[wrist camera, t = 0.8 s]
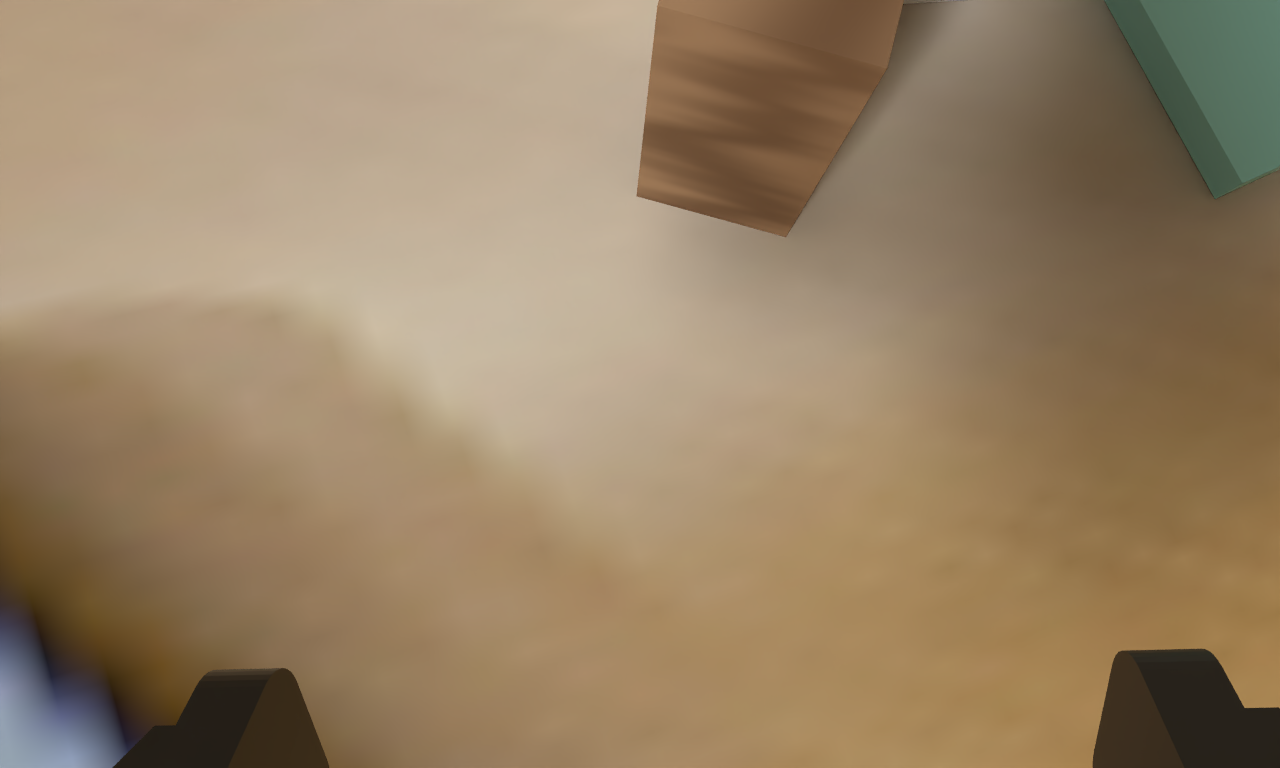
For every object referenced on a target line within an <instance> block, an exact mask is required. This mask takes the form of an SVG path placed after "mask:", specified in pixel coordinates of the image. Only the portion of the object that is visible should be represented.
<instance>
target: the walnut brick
mask: <svg viewBox="0 0 1280 768" xmlns="http://www.w3.org/2000/svg"><path fill="white" fill-rule="evenodd" d="M903 2H904V0H659V2H658V6H657V15H656V24H655V33H654V42H653V51H652V60H651V70H650V79H649V88H648V97H647V106H646V115H645V124H644V133H643V143H642V152H641V161H640V170H639V179H638V188H637V196H638V197H642V198H645V199H649V200H653V201H656V202H660V203H664V204H667V205H671V206H675V207H678V208H682V209H686V210H689V211H693V212H697V213H700V214H704V215H707V216H711V217H715V218H718V219H722V220H726V221H729V222H733V223H737V224H740V225H744V226H748V227H751V228H755V229H759V230H762V231H766V232H770V233H773V234H777V235H780V236H784V237H786V236H787V234H788V232H789V231H790V229H791V227H792V226H793V224H794V222H795V221H796V219H797V217H798V216H799V214H800V212H801V211H802V209H803V207H804V206H805V204H806V203H807V201H808V199H809V198H810V196H811V194H812V193H813V191H814V189H815V188H816V186H817V184H818V183H819V181H820V179H821V178H822V176H823V174H824V173H825V171H826V169H827V168H828V166H829V164H830V163H831V161H832V159H833V158H834V156H835V154H836V153H837V151H838V149H839V148H840V146H841V144H842V143H843V141H844V139H845V138H846V136H847V134H848V133H849V131H850V129H851V128H852V126H853V124H854V123H855V121H856V119H857V118H858V116H859V114H860V113H861V111H862V109H863V108H864V106H865V104H866V103H867V101H868V99H869V98H870V96H871V94H872V93H873V91H874V89H875V88H876V86H877V84H878V83H879V81H880V80H881V78H882V76H883V75H884V73H885V71H886V70H887V67H888V63H889V59H890V55H891V51H892V47H893V43H894V39H895V35H896V31H897V27H898V23H899V19H900V15H901V11H902V6H903Z"/></svg>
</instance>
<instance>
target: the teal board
mask: <svg viewBox="0 0 1280 768" xmlns="http://www.w3.org/2000/svg"><path fill="white" fill-rule="evenodd" d="M1104 1H1105V2H1106V4H1107V6H1108V8H1109V10H1110V11H1111V13H1112V15H1113V17H1114V19H1115V20H1116V22H1117V24H1118V26H1119V28H1120V29H1121V31H1122V33H1123V35H1124V37H1125V38H1126V40H1127V42H1128V44H1129V46H1130V47H1131V49H1132V51H1133V53H1134V55H1135V56H1136V58H1137V60H1138V62H1139V64H1140V65H1141V67H1142V69H1143V71H1144V73H1145V74H1146V76H1147V78H1148V80H1149V82H1150V83H1151V85H1152V87H1153V89H1154V91H1155V92H1156V94H1157V96H1158V98H1159V100H1160V101H1161V103H1162V105H1163V107H1164V109H1165V110H1166V112H1167V114H1168V116H1169V117H1170V119H1171V121H1172V123H1173V125H1174V126H1175V128H1176V130H1177V132H1178V134H1179V135H1180V137H1181V139H1182V141H1183V143H1184V144H1185V146H1186V148H1187V150H1188V152H1189V153H1190V155H1191V157H1192V159H1193V161H1194V162H1195V164H1196V166H1197V168H1198V170H1199V171H1200V173H1201V175H1202V177H1203V179H1204V180H1205V182H1206V184H1207V186H1208V188H1209V189H1210V191H1211V193H1212V195H1213V197H1214V198H1215V199H1216V198H1218V197H1221V196H1223V195H1225V194H1227V193H1229V192H1231V191H1234V190H1236V189H1238V188H1240V187H1242V186H1245V185H1247V184H1249V183H1251V182H1253V181H1255V180H1258V179H1260V178H1262V177H1264V176H1266V175H1268V174H1271V173H1273V172H1275V171H1277V170H1279V169H1280V0H1104Z"/></svg>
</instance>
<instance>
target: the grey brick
mask: <svg viewBox="0 0 1280 768" xmlns="http://www.w3.org/2000/svg"><path fill="white" fill-rule="evenodd" d="M946 1H963V0H904V2H903V4H912V3H929V2H946Z"/></svg>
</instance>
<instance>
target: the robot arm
mask: <svg viewBox="0 0 1280 768" xmlns="http://www.w3.org/2000/svg"><path fill="white" fill-rule="evenodd" d="M113 768H329V765H328V761H327V759H326V756H325V753H324V751H323V748H322V746H321V743H320V740H319V738H318V735H317V733H316V730H315V727H314V725H313V722H312V720H311V717H310V715H309V712H308V709H307V707H306V704H305V702H304V699H303V696H302V694H301V691H300V689H299V686H298V683H297V681H296V679H295V677H294V675H293V674H292V673H291V672H290V671H289V670H288V669H285V668H272V669H232V670H212V671H210V672H208V673H207V674H206V675H204V676H203V678H202V679H201V680H200V681H199V683H198V684H197V686H196V688H195V690H194V692H193V693H192V695H191V697H190V699H189V701H188V703H187V705H186V707H185V709H184V710H183V712H182V714H181V716H180V718H179V720H178V722H177V724H176V726H154V727H153V728H152V729H151V730H150V731H149V732H148V733H147V734H146V735H145V736H144V737H143V738H142V739H141V740H140V741H139V742H138V743H137V744H136V745H135V746H134V747H133V748H132V749H131V750H130V751H129V752H128V753H127V754H126V755H125V756H124V757H123V758H122V759H121V760H120V761H119V762H118V763H117V764H116V765H115V766H114V767H113ZM1093 768H1280V708H1244V706H1243V705H1242V703H1241V701H1240V699H1239V697H1238V695H1237V693H1236V692H1235V690H1234V688H1233V686H1232V684H1231V682H1230V681H1229V679H1228V677H1227V675H1226V673H1225V671H1224V670H1223V668H1222V666H1221V664H1220V663H1219V661H1218V660H1217V659H1216V657H1215V656H1214V655H1213V654H1212V653H1211V652H1209V651H1208V650H1206V649H1171V650H1130V651H1120V652H1118V653H1117V655H1116V656H1115V658H1114V661H1113V664H1112V669H1111V673H1110V678H1109V683H1108V688H1107V692H1106V697H1105V702H1104V707H1103V711H1102V716H1101V721H1100V726H1099V730H1098V735H1097V740H1096V745H1095V749H1094V755H1093Z"/></svg>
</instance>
